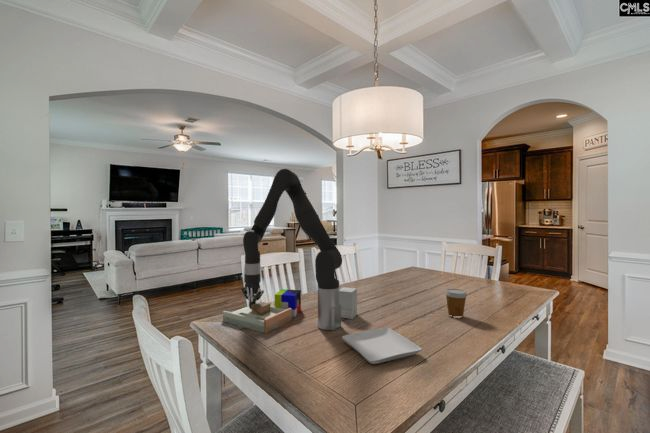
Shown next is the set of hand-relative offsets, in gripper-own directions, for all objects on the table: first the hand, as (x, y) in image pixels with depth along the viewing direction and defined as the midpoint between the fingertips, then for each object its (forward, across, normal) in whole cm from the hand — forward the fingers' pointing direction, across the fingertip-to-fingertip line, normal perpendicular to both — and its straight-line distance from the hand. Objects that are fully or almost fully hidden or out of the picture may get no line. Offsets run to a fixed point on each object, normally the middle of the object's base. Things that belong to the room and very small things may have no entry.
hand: (252, 308), depth 145 cm
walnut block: (+1, -5, 0) cm, 5 cm away
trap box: (+4, -6, +3) cm, 8 cm away
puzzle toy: (+4, -11, -13) cm, 17 cm away
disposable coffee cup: (+3, -82, -50) cm, 96 cm away
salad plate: (+3, -64, +1) cm, 64 cm away
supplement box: (+3, -38, -24) cm, 45 cm away
